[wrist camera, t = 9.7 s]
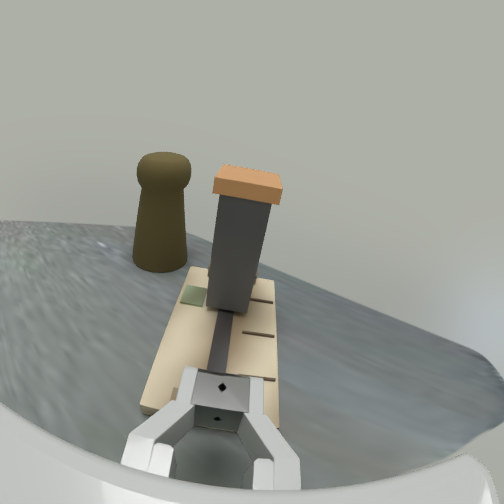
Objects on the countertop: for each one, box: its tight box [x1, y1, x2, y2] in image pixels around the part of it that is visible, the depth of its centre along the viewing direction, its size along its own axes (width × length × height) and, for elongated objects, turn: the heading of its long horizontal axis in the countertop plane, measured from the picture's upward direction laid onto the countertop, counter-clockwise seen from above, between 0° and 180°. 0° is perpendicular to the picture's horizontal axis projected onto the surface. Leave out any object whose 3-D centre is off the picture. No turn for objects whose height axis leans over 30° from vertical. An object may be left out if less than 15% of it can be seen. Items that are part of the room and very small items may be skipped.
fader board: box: [140, 261, 279, 432], centre depth 20 cm, size 8×15×2 cm, turn 178°
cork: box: [132, 152, 191, 273], centre depth 26 cm, size 6×6×11 cm
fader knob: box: [206, 164, 283, 313], centre depth 20 cm, size 4×4×10 cm
